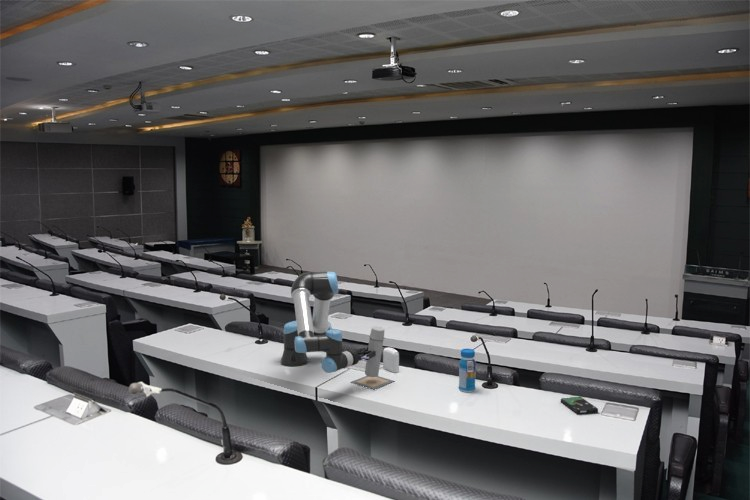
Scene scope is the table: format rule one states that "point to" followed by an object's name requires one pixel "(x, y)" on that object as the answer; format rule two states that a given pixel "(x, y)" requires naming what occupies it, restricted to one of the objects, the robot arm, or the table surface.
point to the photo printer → (391, 359)
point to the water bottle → (375, 345)
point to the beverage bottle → (467, 370)
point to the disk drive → (579, 405)
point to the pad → (372, 382)
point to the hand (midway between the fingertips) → (379, 348)
